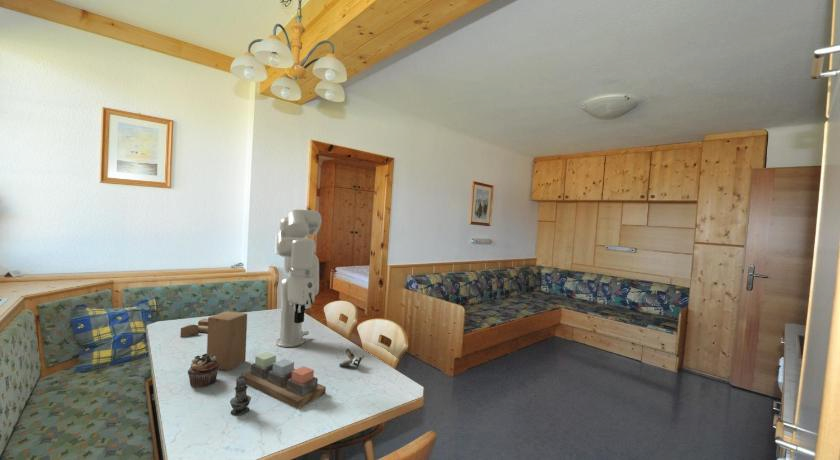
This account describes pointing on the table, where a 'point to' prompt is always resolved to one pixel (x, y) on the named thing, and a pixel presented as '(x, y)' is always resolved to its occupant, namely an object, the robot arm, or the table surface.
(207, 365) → the cupcake
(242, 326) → the wooden block
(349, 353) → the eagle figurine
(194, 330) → the wooden block set
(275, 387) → the console
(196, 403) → the table surface
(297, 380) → the red key
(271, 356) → the sage key
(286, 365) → the slate key
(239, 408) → the grey tall stone piece
